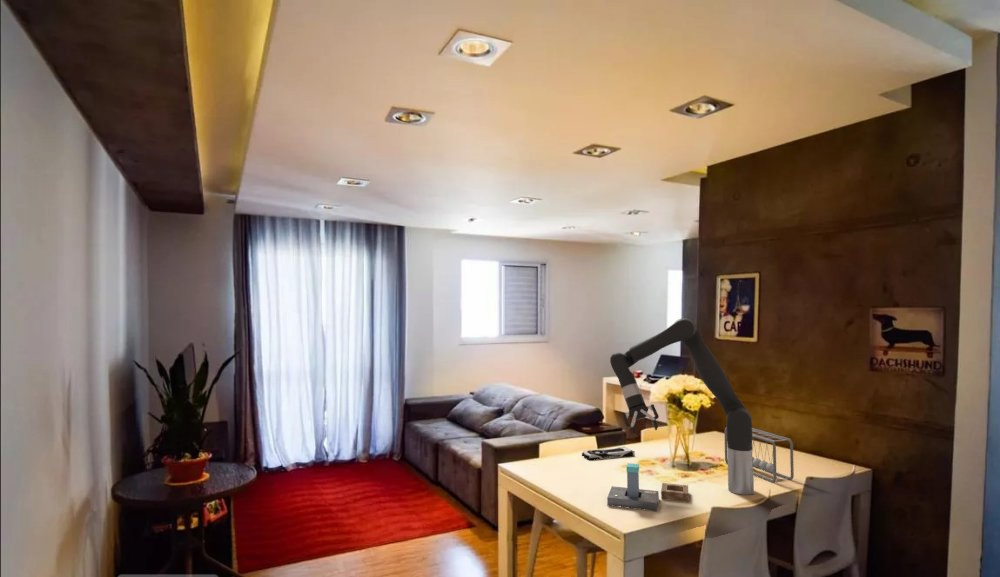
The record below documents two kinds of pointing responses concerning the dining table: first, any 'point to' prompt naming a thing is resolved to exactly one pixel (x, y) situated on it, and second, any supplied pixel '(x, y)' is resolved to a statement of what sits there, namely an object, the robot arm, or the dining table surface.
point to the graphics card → (608, 453)
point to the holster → (674, 492)
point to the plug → (632, 480)
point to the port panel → (633, 499)
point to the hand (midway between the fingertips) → (646, 432)
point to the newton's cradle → (764, 464)
